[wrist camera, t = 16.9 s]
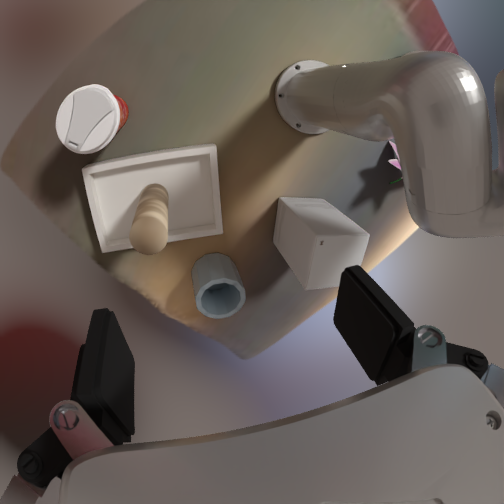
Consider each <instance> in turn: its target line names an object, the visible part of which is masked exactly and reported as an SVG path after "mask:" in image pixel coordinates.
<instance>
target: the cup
mask: <svg viewBox="0 0 504 504" xmlns="http://www.w3.org/2000/svg"><path fill="white" fill-rule="evenodd" d="M191 274H192V281H193V288H194V295H195V300H196V305H197V309H198V310H199V311H200V312H201V313H202V314H204V315H205V316H207V317H211V318H215V319H220V318H225V317H230V316H231V315H233V314H235V313H236V312H238V311H239V310H240V309H241V307H242V306H243V304H244V302H245V301H246V298H245V288H244V286H243V283H242V281H241V278H240V275H239V273H238V270H237V268H236V265H235V264H234V262H233V261H232V260H231V259H230V258H229V256H226V255H223V254H220V253H212V254H206V255H204V256H203V257H201V258H200V259H199V260H197V261H196V262H195V264H194V267H193V269H192V271H191Z"/></svg>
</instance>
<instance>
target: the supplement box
mask: <svg viewBox="0 0 504 504" xmlns="http://www.w3.org/2000/svg"><path fill="white" fill-rule="evenodd" d="M369 236H370V234H368V233H367V232H366V231H365V230H363V229H362V228H361V227H360V226H358V225H357V224H356V223H354V222H353V221H352V220H350V219H349V218H348V217H347V216H345V215H344V214H343V213H341V212H340V211H339V210H337V209H336V208H335V207H333V206H332V205H331V204H329V203H328V202H327V201H325V200H324V199H318V198H293V197H279V201H278V208H277V215H276V222H275V229H274V237H273V243H274V245H275V246H276V247H277V249H278V250H279V252H280V253H281V255H282V256H283V258H284V259H285V261H286V262H287V264H288V265H289V267H290V268H291V269H292V271H293V272H294V274H295V275H296V277H297V279H298V280H299V282H300V283H301V285H302V286H303V288H304V289H305V290H311V289H320V288H330V287H339V284H340V278H341V273H342V272H343V271H344V269H345V268H346V267H350V266H355V265H359V266H361V263H362V260H363V257H364V253H365V250H366V247H367V244H368V240H369Z"/></svg>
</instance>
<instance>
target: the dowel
mask: <svg viewBox="0 0 504 504" xmlns="http://www.w3.org/2000/svg"><path fill="white" fill-rule="evenodd" d="M168 201H169V195H168V191H167V190H166V188H165V187H164V186H162V185H160V184H156V183H154V184H149V185H147V186H146V187H145V188H144V189H143V190H142V193H141V196H140V199H139V202H138V206H137V209H136V212H135V216H134V219H133V223H132V226H131V230H130V234H129V239H130V243H131V245H132V247H133V248H134V249H135V250H136V251H138V252H139V253H142V254H146V255H152V254H156V253H158V252H160V251H161V250H162V249H163V248H164V247H165V246H166V244H167V240H168Z"/></svg>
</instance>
